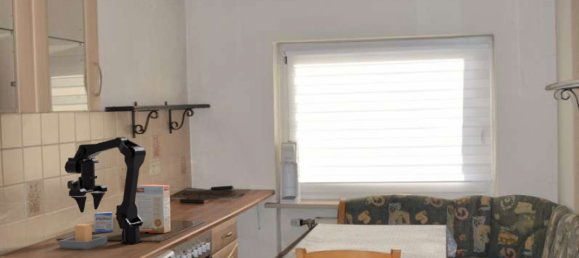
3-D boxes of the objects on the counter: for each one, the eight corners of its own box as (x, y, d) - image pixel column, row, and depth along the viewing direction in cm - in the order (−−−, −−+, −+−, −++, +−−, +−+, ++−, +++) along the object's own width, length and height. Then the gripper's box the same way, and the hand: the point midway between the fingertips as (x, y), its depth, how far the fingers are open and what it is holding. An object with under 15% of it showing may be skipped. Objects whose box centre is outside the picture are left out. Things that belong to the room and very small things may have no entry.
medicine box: (94, 233, 315) (94, 213, 314) (94, 231, 319) (94, 212, 319) (113, 231, 317) (112, 212, 317) (112, 230, 321) (112, 211, 321)
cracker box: (171, 231, 314) (170, 184, 314) (164, 233, 309) (162, 185, 308) (144, 230, 320) (143, 183, 319) (136, 232, 314) (135, 185, 314)
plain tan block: (92, 243, 286) (91, 224, 285) (85, 245, 281) (84, 225, 281) (82, 243, 287) (82, 223, 287) (75, 245, 283) (75, 225, 283)
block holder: (107, 243, 288) (107, 236, 288) (87, 249, 276) (86, 242, 276) (80, 242, 293) (80, 234, 293) (59, 248, 281) (59, 240, 281)
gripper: (86, 171, 310) (87, 207, 310) (57, 175, 292) (58, 213, 293) (107, 172, 306) (108, 208, 306) (79, 176, 288) (80, 214, 289)
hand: (89, 210), depth 299 cm, fingers open, 9 cm apart
